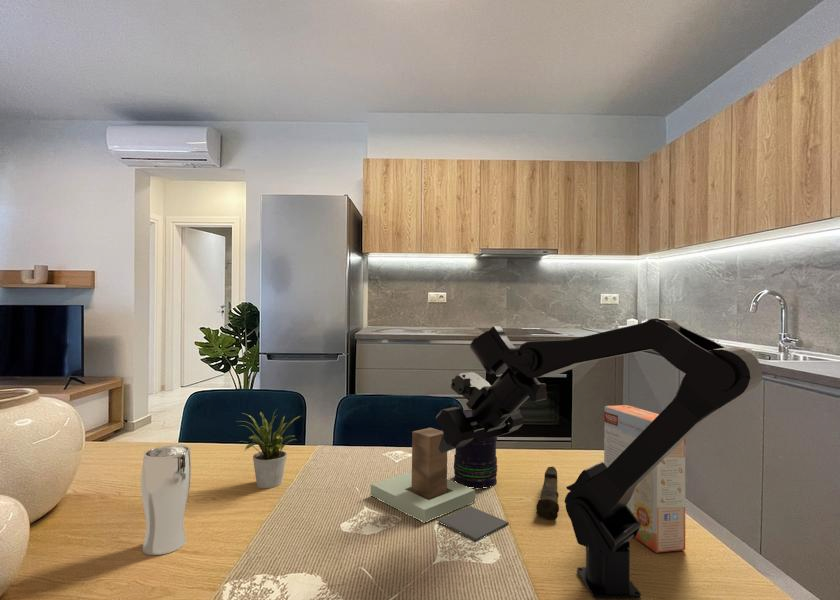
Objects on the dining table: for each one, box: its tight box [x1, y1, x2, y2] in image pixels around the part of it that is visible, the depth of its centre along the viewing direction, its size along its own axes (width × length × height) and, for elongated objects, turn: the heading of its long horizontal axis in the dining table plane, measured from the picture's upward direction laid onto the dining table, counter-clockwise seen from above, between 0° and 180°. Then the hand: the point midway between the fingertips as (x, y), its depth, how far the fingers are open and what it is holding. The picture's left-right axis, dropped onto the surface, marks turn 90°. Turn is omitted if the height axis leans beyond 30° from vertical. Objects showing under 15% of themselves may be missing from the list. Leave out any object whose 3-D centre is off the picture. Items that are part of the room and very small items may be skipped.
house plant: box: [235, 409, 303, 489], centre depth 98 cm, size 14×14×16 cm
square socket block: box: [370, 471, 476, 522], centre depth 91 cm, size 16×14×2 cm
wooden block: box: [411, 427, 448, 500], centre depth 89 cm, size 5×5×14 cm
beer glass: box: [140, 444, 192, 556], centre depth 72 cm, size 7×7×15 cm
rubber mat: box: [437, 505, 509, 542], centre depth 80 cm, size 9×9×1 cm
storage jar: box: [453, 409, 499, 488], centre depth 102 cm, size 10×10×15 cm
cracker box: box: [603, 404, 686, 554], centre depth 78 cm, size 14×6×21 cm, turn 12°
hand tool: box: [535, 466, 560, 521], centre depth 91 cm, size 19×4×5 cm, turn 159°
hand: (457, 445), depth 84 cm, fingers open, 9 cm apart
